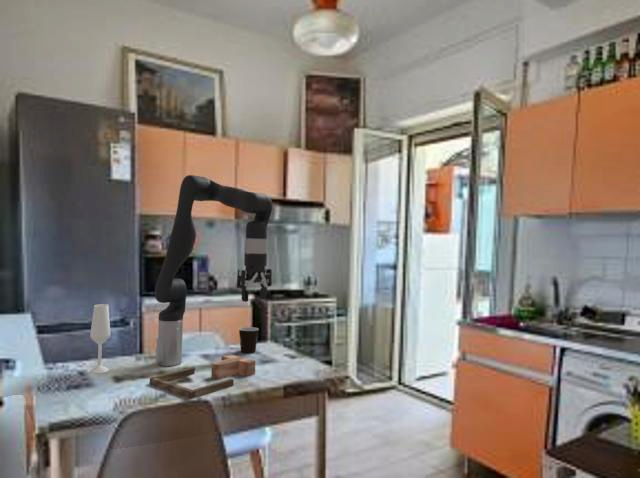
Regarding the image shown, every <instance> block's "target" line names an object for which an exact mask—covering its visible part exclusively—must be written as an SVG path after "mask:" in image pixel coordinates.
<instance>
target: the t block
mask: <svg viewBox="0 0 640 478" xmlns="http://www.w3.org/2000/svg"><path fill="white" fill-rule="evenodd" d="M235 375H240V376H244V377H251V376H255V375H256V360H254V359H250V358H246V357H241V356H238V355H234V354H231V353H230V354H225V355H221V360H219V361H215V362H211V378H213V379H217V380H221V379H225V378H229V377H232V376H235Z"/></svg>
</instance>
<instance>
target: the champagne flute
mask: <svg viewBox="0 0 640 478" xmlns="http://www.w3.org/2000/svg"><path fill="white" fill-rule="evenodd" d="M109 308H110V307H109V304H106V303H100V304H94V306H93V311H92V312H93V313H92V317H91V318H92V320H91V328H90V336H89V337H90V339H91V340H92V341H93V342H94V343H95V344H97V345H98V347H97V365H96V366H95V367H93V368H91V369H90V370H89V371H88V373H90V374H102V373H106V372H108V371H110V369H109V368H107V367H105V366H103V365H102V355H103V354H102V350H103V349H102V348H103V346H102V345H103V344H104V343H105V342H106V341H108V339H109V338H110V337H111V326H110V325H111V324H110V309H109Z"/></svg>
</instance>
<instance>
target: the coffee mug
mask: <svg viewBox="0 0 640 478" xmlns="http://www.w3.org/2000/svg"><path fill="white" fill-rule="evenodd" d="M238 330H239V331H238V334H239V345H240V346H239V347H240V352H241V353H242V354H255V353H256V351H257V344H258V336H259V328H258V327H250V326H248V327H247V326H246V327H240V328H238Z"/></svg>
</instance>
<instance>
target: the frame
mask: <svg viewBox="0 0 640 478" xmlns="http://www.w3.org/2000/svg"><path fill="white" fill-rule="evenodd" d="M195 371H196V369H195V367H189V368H185V369H181V370H176V371H173V372H172V371H171V372H168V373H164V374H160V375H156V376H151V377H149V385H152V386H154V387H157V388H161V389H163V390H166V391H169V392H171V393H174V394H177V395H180V396H183V397H186V398H189V399H195V398H198V397H202V396H203V395H204V396H205V395H207V394H210V393H213V392H217V391H220V390H223V389H227V388H230V387H233V386H234V379H233V378H229V379H224V380H222V381H218V382H215V383H212V384H208V385H205V386H201V387H197V388H195V389H194V388H193V389H191V388H187V387H184V386H182V385H180V384H176V383H173V382H170V381H172V380H176V379H180V378H183V377H188V376H191V375H194V374H195Z"/></svg>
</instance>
